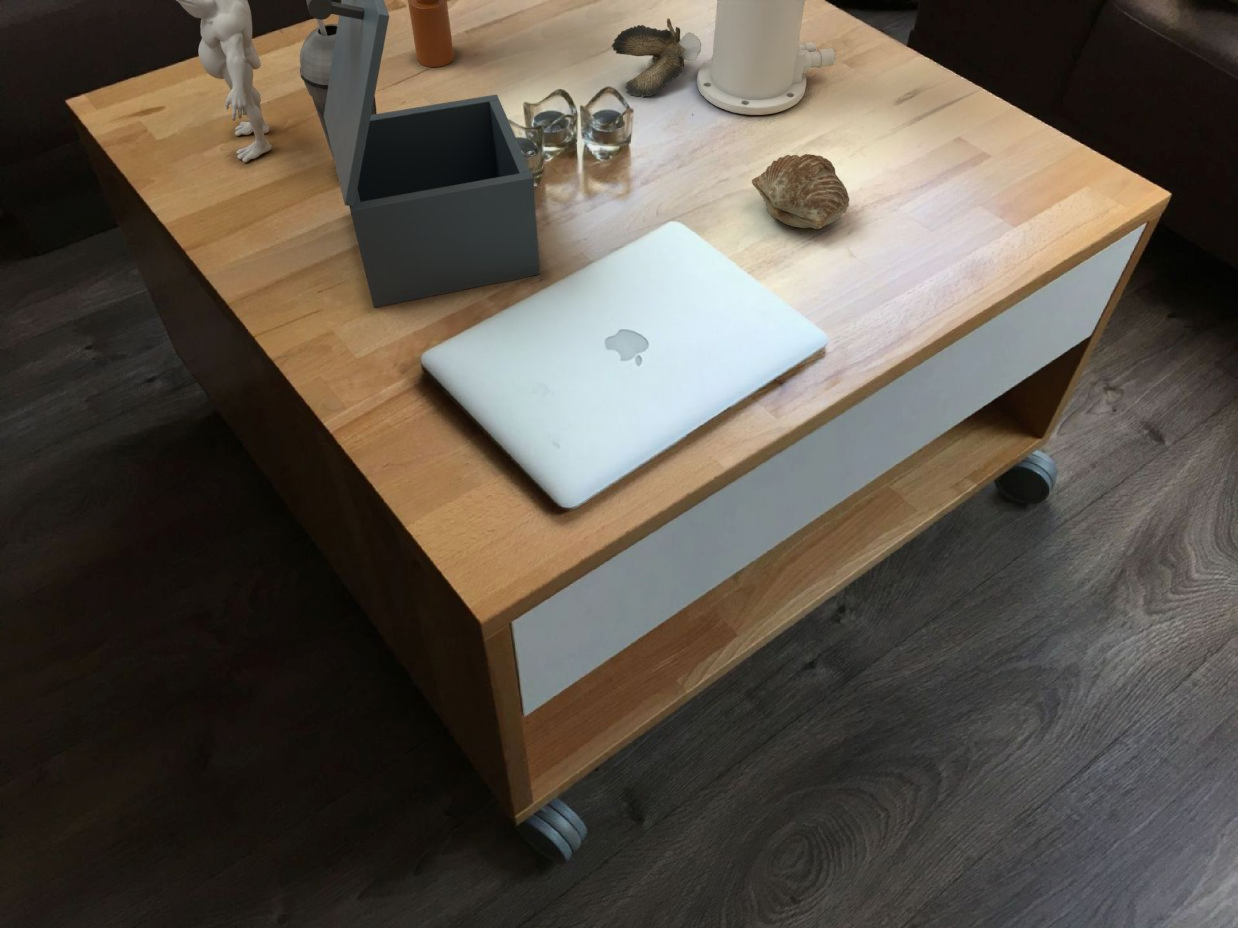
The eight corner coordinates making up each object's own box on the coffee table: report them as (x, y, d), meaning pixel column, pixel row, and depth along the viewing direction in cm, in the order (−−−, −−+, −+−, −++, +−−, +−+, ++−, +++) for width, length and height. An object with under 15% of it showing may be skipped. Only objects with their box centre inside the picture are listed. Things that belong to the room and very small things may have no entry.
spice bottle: (449, 46, 125) (439, -34, 117) (457, 64, 122) (447, -16, 114) (414, 51, 124) (401, -28, 116) (420, 70, 121) (408, -10, 114)
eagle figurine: (650, 40, 123) (598, 54, 118) (683, 0, 118) (630, 13, 112) (683, 94, 123) (632, 110, 118) (717, 57, 118) (666, 72, 112)
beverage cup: (381, 194, 106) (341, 5, 90) (314, 185, 107) (264, -3, 91) (404, 154, 110) (370, -32, 95) (340, 146, 111) (296, -40, 96)
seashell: (802, 259, 101) (855, 220, 104) (812, 204, 95) (868, 165, 98) (735, 211, 105) (788, 175, 108) (740, 156, 99) (796, 120, 102)
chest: (506, 190, 106) (496, 94, 98) (540, 274, 98) (533, 177, 89) (352, 218, 103) (328, 121, 95) (373, 307, 95) (350, 210, 86)
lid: (361, -66, 83) (298, -81, 81) (389, 15, 75) (320, 2, 73) (332, 117, 95) (276, 109, 92) (354, 207, 86) (292, 200, 84)
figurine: (220, 103, 116) (167, -59, 102) (280, 95, 117) (236, -67, 103) (225, 196, 105) (167, 29, 91) (292, 186, 107) (244, 19, 93)
